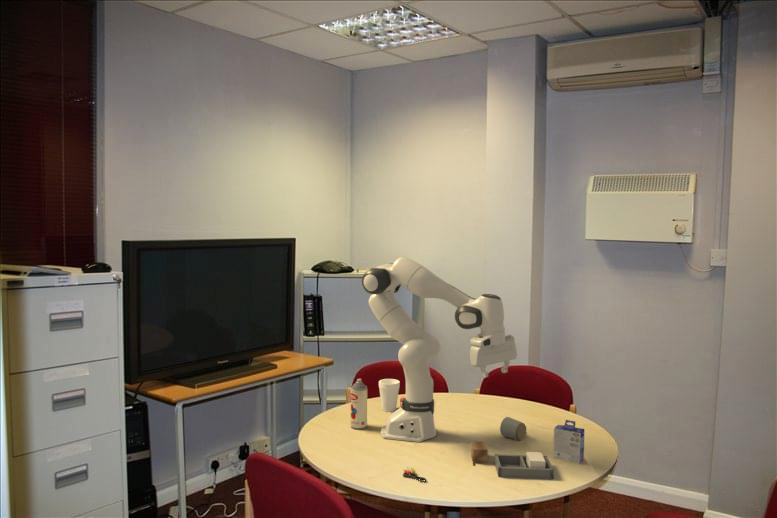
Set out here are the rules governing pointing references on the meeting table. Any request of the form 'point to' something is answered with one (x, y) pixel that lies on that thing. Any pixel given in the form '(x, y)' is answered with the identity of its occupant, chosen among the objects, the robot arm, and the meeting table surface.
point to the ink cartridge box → (568, 443)
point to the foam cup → (389, 394)
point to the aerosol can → (359, 405)
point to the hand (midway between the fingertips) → (495, 374)
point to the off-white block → (535, 460)
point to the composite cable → (412, 474)
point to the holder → (520, 467)
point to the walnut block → (479, 452)
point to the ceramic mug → (513, 428)
